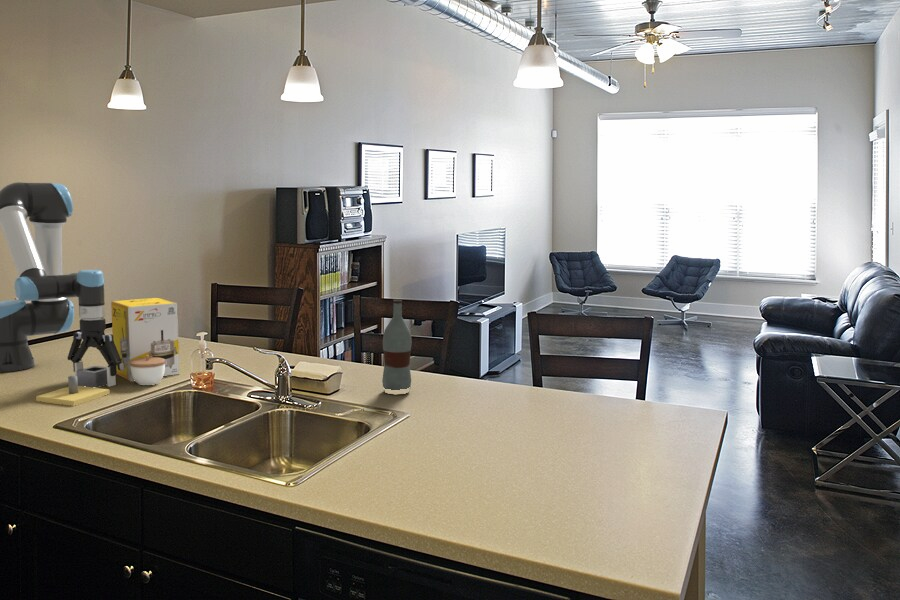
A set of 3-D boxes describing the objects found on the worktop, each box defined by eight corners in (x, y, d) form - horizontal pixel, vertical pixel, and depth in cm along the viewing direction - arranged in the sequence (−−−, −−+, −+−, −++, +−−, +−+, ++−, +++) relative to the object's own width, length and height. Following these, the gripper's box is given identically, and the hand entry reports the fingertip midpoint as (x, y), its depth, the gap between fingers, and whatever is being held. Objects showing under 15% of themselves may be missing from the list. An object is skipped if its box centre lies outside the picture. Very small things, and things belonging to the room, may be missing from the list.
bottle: (413, 389, 242) (414, 298, 238) (408, 396, 233) (410, 302, 229) (385, 387, 243) (385, 297, 239) (379, 395, 234) (380, 301, 230)
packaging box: (131, 381, 244) (128, 307, 241) (114, 372, 256) (111, 301, 253) (179, 374, 255) (177, 303, 252) (161, 366, 267) (158, 297, 263)
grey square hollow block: (77, 385, 238) (76, 370, 237) (95, 380, 245) (94, 365, 244) (96, 388, 235) (95, 372, 235) (113, 382, 242) (112, 367, 242)
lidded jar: (128, 388, 236) (127, 359, 234) (133, 380, 246) (132, 352, 245) (164, 387, 238) (163, 358, 237) (167, 379, 249) (166, 351, 247)
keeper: (36, 401, 220) (35, 379, 219) (73, 389, 233) (72, 369, 232) (73, 406, 215) (72, 384, 215) (109, 394, 229) (108, 373, 228)
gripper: (52, 317, 237) (56, 382, 240) (114, 322, 230) (117, 390, 233) (71, 314, 244) (74, 377, 247) (132, 319, 237) (134, 384, 240)
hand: (95, 383), depth 240 cm, fingers open, 12 cm apart
